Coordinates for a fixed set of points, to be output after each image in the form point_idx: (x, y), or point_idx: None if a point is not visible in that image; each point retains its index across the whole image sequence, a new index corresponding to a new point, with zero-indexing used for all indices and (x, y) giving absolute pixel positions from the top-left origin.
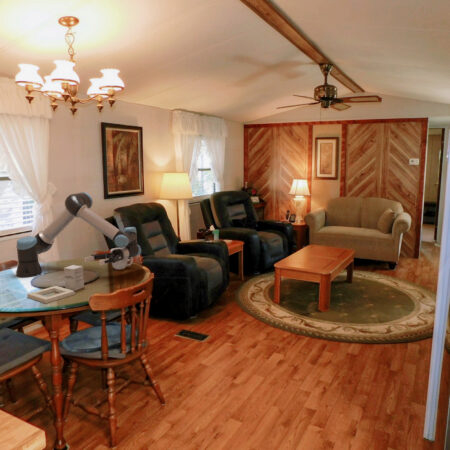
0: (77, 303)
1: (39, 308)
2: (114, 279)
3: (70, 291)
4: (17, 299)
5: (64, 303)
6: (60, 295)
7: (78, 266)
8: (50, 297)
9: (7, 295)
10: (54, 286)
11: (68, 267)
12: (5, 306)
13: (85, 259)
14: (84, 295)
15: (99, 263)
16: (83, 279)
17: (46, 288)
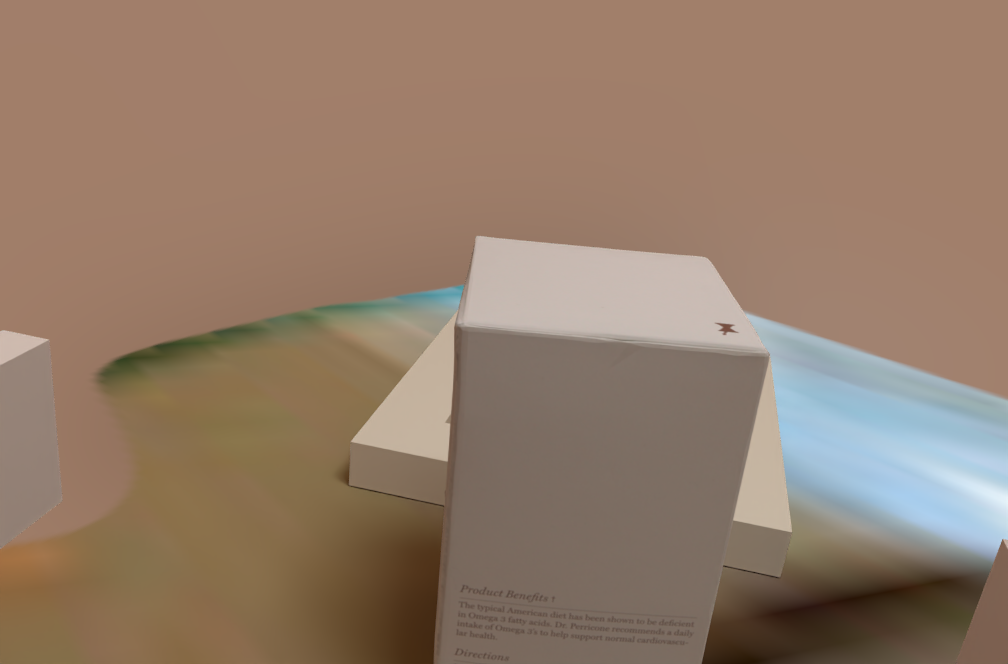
0: (159, 354)
1: (427, 294)
2: None
3: (390, 427)
4: (784, 363)
5: (293, 347)
6: (416, 362)
7: (531, 300)
8: None
9: (984, 401)
10: (774, 511)
11: (655, 263)
12: None
13: (981, 610)
14: (191, 483)
15: (42, 435)
16: (438, 599)
17: (779, 455)
